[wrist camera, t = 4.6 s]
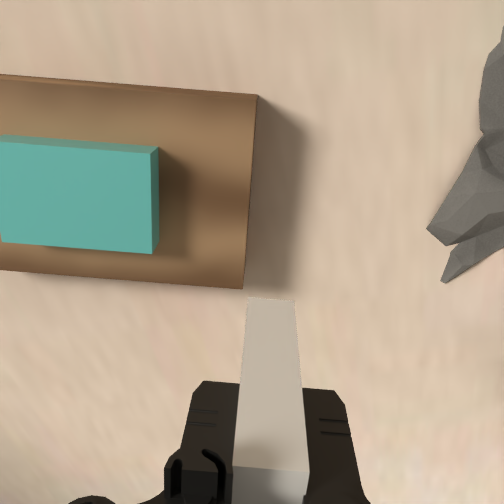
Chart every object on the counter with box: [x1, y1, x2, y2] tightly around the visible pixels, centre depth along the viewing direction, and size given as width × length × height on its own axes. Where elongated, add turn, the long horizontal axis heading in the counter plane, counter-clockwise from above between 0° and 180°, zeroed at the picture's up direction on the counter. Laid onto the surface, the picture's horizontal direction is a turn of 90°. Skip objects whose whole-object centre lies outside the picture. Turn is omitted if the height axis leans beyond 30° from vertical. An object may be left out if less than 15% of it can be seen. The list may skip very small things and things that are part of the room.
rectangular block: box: [0, 134, 159, 254], centre depth 27 cm, size 6×9×2 cm, turn 86°
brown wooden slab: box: [0, 74, 257, 289], centre depth 29 cm, size 12×19×4 cm, turn 86°
